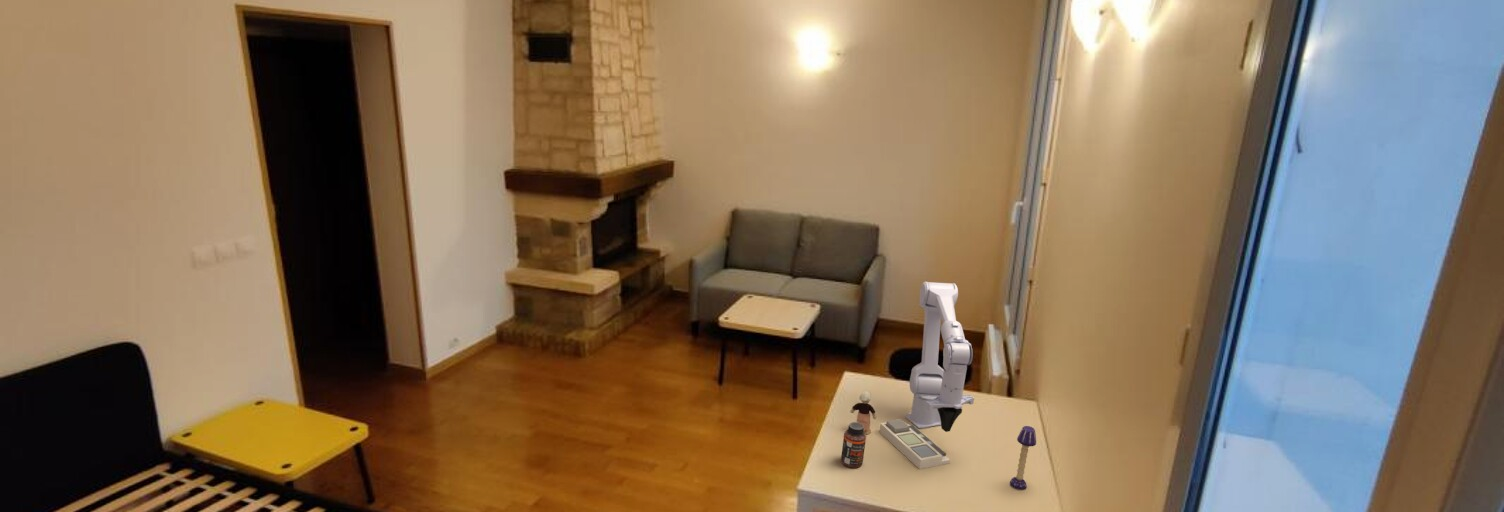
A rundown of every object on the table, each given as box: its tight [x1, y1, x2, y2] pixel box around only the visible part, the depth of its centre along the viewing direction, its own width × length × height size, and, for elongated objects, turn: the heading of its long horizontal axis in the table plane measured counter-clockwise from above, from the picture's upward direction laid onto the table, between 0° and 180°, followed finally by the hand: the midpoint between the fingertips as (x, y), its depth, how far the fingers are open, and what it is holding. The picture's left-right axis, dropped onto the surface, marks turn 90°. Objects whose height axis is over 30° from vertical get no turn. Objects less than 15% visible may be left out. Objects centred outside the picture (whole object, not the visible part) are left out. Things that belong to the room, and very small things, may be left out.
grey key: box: [886, 418, 910, 434], centre depth 206 cm, size 5×5×1 cm
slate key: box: [912, 446, 936, 458], centre depth 195 cm, size 5×5×1 cm
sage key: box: [898, 434, 922, 446], centre depth 200 cm, size 5×5×1 cm
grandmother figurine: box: [849, 390, 878, 435], centre depth 206 cm, size 8×4×13 cm, turn 84°
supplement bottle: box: [840, 421, 867, 469], centre depth 190 cm, size 6×6×11 cm
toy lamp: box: [1009, 425, 1037, 490], centre depth 184 cm, size 5×5×17 cm
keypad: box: [879, 421, 951, 470], centre depth 201 cm, size 10×20×3 cm, turn 23°
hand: (945, 429), depth 193 cm, fingers closed
